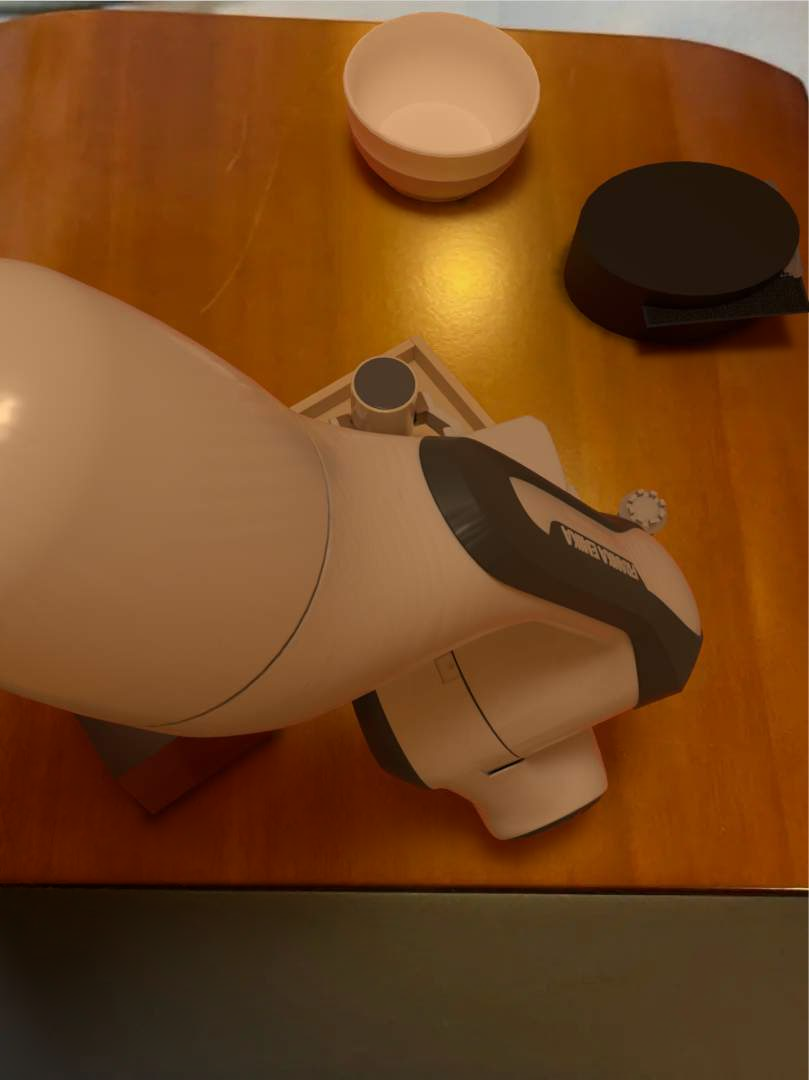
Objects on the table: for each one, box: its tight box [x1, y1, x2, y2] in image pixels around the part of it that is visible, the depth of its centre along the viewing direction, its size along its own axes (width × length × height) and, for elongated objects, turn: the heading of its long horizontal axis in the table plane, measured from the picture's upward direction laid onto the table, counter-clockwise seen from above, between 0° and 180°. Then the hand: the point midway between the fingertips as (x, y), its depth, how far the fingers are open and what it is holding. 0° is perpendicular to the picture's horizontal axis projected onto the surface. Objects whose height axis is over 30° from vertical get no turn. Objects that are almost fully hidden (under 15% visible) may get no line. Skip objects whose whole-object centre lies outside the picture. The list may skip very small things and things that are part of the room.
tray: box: [288, 333, 497, 438], centre depth 73 cm, size 17×13×3 cm
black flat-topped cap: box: [563, 160, 809, 344], centre depth 80 cm, size 14×18×8 cm
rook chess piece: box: [616, 488, 668, 537], centre depth 69 cm, size 4×4×8 cm
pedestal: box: [73, 713, 273, 815], centre depth 60 cm, size 9×9×12 cm
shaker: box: [350, 355, 419, 436], centre depth 69 cm, size 4×4×10 cm
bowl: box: [342, 11, 541, 203], centre depth 83 cm, size 16×16×8 cm
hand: (376, 408), depth 69 cm, fingers closed on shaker, 4 cm apart
